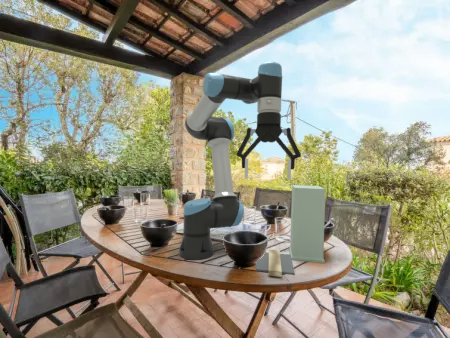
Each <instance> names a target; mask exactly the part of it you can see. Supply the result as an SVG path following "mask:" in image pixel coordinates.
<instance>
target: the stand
mask: <svg viewBox="0 0 450 338" xmlns="http://www.w3.org/2000/svg"><path fill="white" fill-rule="evenodd" d="M290 209H291V211H290V213H291V215H290V242H289V243H290V244H289V246H288V250H289V255H291V258H292V261H298V262H309V263H317V264H318V263H319V264H325V263H326V262H325V259H324V251H325V250H324V248H325V244H324V243H325V221H326V220H325V216H326V215H325V213H326V210H325V209H326V188H324V187H323V186H320V185H303V184H301V185H300V184H299V185H298V184H292V185H291V208H290Z"/></svg>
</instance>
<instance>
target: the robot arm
mask: <svg viewBox="0 0 450 338" xmlns="http://www.w3.org/2000/svg"><path fill="white" fill-rule="evenodd" d="M282 87H283V67H282V65H281V64H280V63H279V62H276V61H266V62H265V61H264V62H262V63H261V64H260V65H259V66H258V71H257V76H256V77H253V78H247V77H240V76H234V75H229V74H223V73H219V72H217V73H216V72H207V73H206V74H205V76H204V79H203V83H202V89H203V90H202V91H203V94H202V96H201V98H200V100H199V101H198V103H197V104H196V105H195V107H194V108H193V109H192V111H191V112H188V114H187V116H186V118H185V120H184V127H185V131H187V133H188V134H189V135H190V136H191V137H192V138H194V139H196V140H200V141H201V140H202V141H206V142H207V145H208V146H209V147H210V151H211V161H212V162H211V163H212V174H213V183H214V196H213V197H212V199H210V198H195V199H192V200H188V201H187V202H185V203H184V205H183V206H184V207H183V236H182V239H181V242H180V245H179V249H178V254H179V255H178V256H180V257H182V258H183V259H187V260H204V259H208V258H211V257H212V256H213V255H214V253H215V251H214V249H215V247H214V244H213V241H212V238H211V229H220V228H232V227H238V226H239V225H240V224H241V223H242V220H243V219H244V213H245V212H244V205H243V201H241V200H239V199H238V196H237V195H236V194H235V193H234V186H233V179H232V178H233V177H232V168H231V167H232V166H231V159H230V151H229V145H230V144H231V143H232V141H233V139H234V137H235V127H234V124H233V122H232V120H231V119H230V118H226V117H219V116H214V114H215V113H216V111H217V110H218V109H219V108H220V107H221V105H222V104H223V103H224V102H225V100H226V99H227V100H236V101H241V102H243V104H246V105H251V104H252V105H253V104H256V103H257V115H256V119H257V120H256V128H255V129H254V128H250V127H248V128H246V134H245V137H244V139H243V141H242V142H241V144H240V146H239V148H238V150H237V152H236V153H235V154H236V157H238V158H240V159H241V168H242V169H244V179H245V180H246V179H248V178H249V158H247V157H248V156H249V155H250V154H251V152H252V151H253V150H254V149H255V148H256V147H257V146H258V145H259V144H260V142H262V143H275V142H276V143H277V144H278V146H279V147H280V148H281V149H282V150H283V152H284V153H285V154H286V155H287V156H288V159H287V179H286V180H287V181H291V173H292V170H295V165H296V164H295V161H296V159H299V158H300V157H301V156H302V155H301V152H300V150H299V148H298V146H297V144H296V142H295V140H294V138H293V136H292V130H291V128H290V127H287V128H283V129H282V126H281V125H282V124H281V121H282V120H281V119H282V114H281V112H282V92H283V91H282V89H283V88H282ZM282 133H283V135H284V136H286V138H287V141H288V142H289V144H290V146H291V149H292V151H293V153H294V154H293V153H292V151H291V150H290V149H289V148H288V146H287V145H286V144H285V143H284V142H283V141H282V139H281V138H280V136H281V134H282ZM254 134H255V135H256V136H257V137H256V139H254V141H253V142H252V143H251V144H250V145H249V147H248V148H247V149H246V150H245V148H246V146H247V144H248V142H249V140H250V139H251V136H254ZM244 150H245V151H244ZM243 152H244V153H243Z"/></svg>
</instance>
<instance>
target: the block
mask: <svg viewBox="0 0 450 338" xmlns="http://www.w3.org/2000/svg"><path fill="white" fill-rule="evenodd" d="M268 253H269V272H268V273H267V274H268V276H270V277H281V278H283V277H282V275H283V273H282V269H281V259H280V254H281V251H280V250H278V249H268Z"/></svg>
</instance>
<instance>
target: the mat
mask: <svg viewBox="0 0 450 338" xmlns="http://www.w3.org/2000/svg"><path fill="white" fill-rule="evenodd" d="M280 259H281V269H282V275H283V274H285V275H292V276H293V275H295V274H296V273H295V268H294V264H293V260H292V258H291V255H290V253H288V254H287V253H280ZM255 272H266V273H269V252H265V254H264V256H263V257H262V258H261V259H259V260H258V261H257V260H256V264H255Z"/></svg>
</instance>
